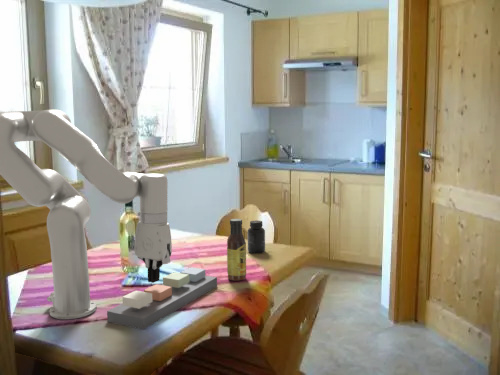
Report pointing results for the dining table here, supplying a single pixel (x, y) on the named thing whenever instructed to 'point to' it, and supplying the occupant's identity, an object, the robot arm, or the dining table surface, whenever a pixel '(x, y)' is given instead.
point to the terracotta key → (159, 292)
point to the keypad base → (161, 305)
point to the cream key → (137, 299)
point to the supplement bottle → (256, 237)
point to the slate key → (194, 274)
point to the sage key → (176, 280)
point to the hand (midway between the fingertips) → (153, 281)
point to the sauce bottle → (236, 252)
